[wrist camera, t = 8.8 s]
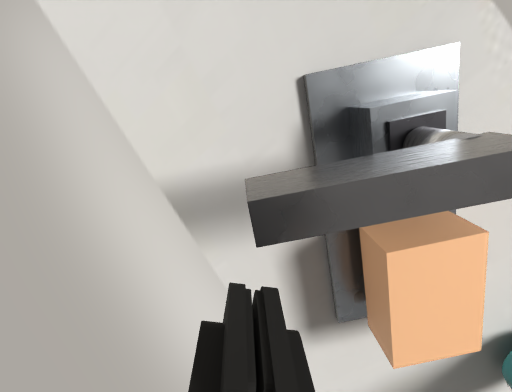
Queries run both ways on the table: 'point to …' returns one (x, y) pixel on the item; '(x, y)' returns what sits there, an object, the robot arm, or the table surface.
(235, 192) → the table surface
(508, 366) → the beverage bottle
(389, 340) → the cover
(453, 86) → the latch base
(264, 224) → the t key
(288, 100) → the table surface
